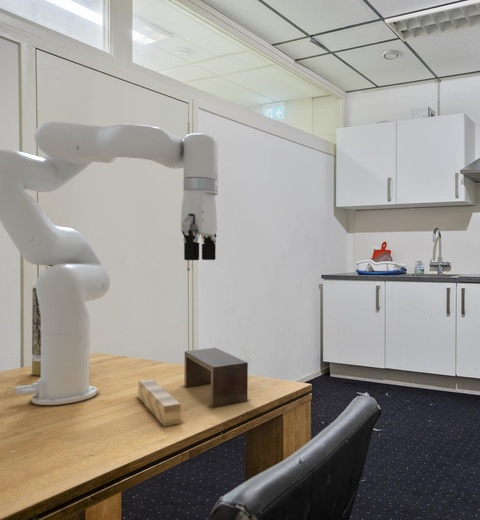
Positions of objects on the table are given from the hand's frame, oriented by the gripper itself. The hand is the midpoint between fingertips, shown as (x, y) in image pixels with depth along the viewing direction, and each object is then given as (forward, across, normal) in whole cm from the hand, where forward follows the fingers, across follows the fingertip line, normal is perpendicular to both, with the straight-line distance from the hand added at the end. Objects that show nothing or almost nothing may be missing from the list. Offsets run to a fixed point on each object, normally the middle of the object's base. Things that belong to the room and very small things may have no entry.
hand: (200, 260), depth 110 cm
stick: (+33, +8, -6) cm, 34 cm away
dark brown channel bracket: (+33, -5, +2) cm, 33 cm away
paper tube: (+33, -21, -52) cm, 65 cm away
